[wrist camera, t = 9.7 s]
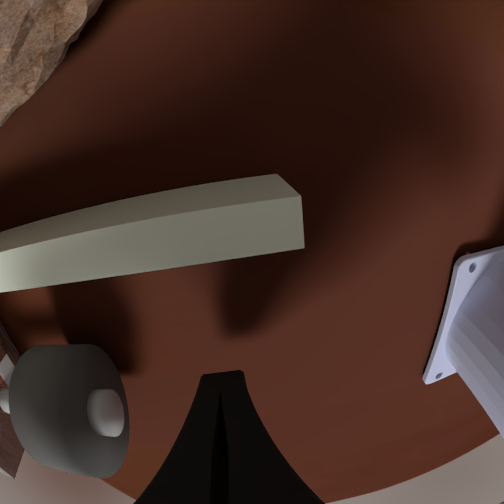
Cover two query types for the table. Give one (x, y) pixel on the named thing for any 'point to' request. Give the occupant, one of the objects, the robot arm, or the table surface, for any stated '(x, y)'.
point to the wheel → (69, 409)
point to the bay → (154, 233)
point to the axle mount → (3, 434)
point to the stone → (35, 44)
